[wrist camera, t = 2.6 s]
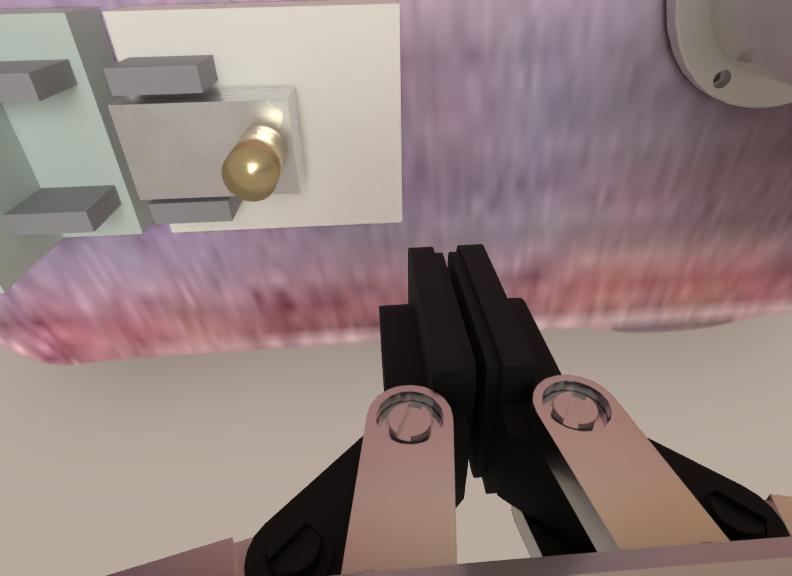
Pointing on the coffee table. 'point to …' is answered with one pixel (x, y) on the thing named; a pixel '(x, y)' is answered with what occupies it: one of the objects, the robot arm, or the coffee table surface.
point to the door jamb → (58, 138)
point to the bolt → (212, 143)
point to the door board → (281, 66)
